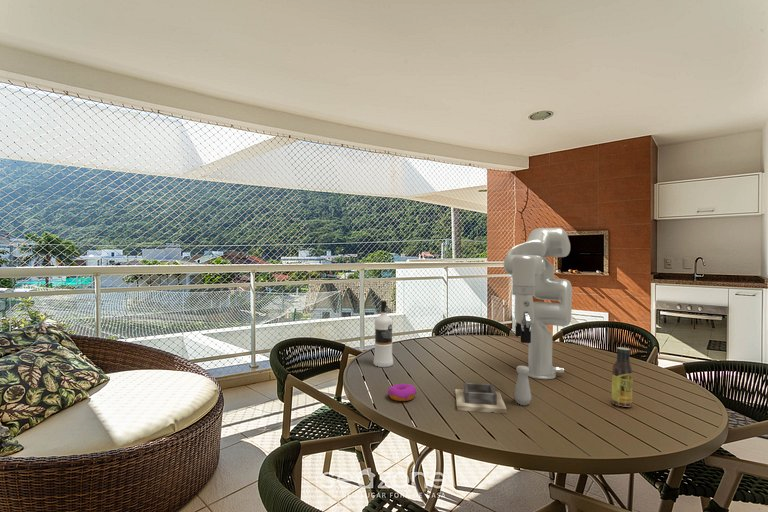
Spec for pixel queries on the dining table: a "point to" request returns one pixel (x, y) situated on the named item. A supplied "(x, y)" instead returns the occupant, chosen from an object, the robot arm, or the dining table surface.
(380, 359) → the vodka
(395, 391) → the donut
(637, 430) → the dining table surface
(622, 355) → the sauce bottle
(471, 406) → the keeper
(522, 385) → the salt shaker
